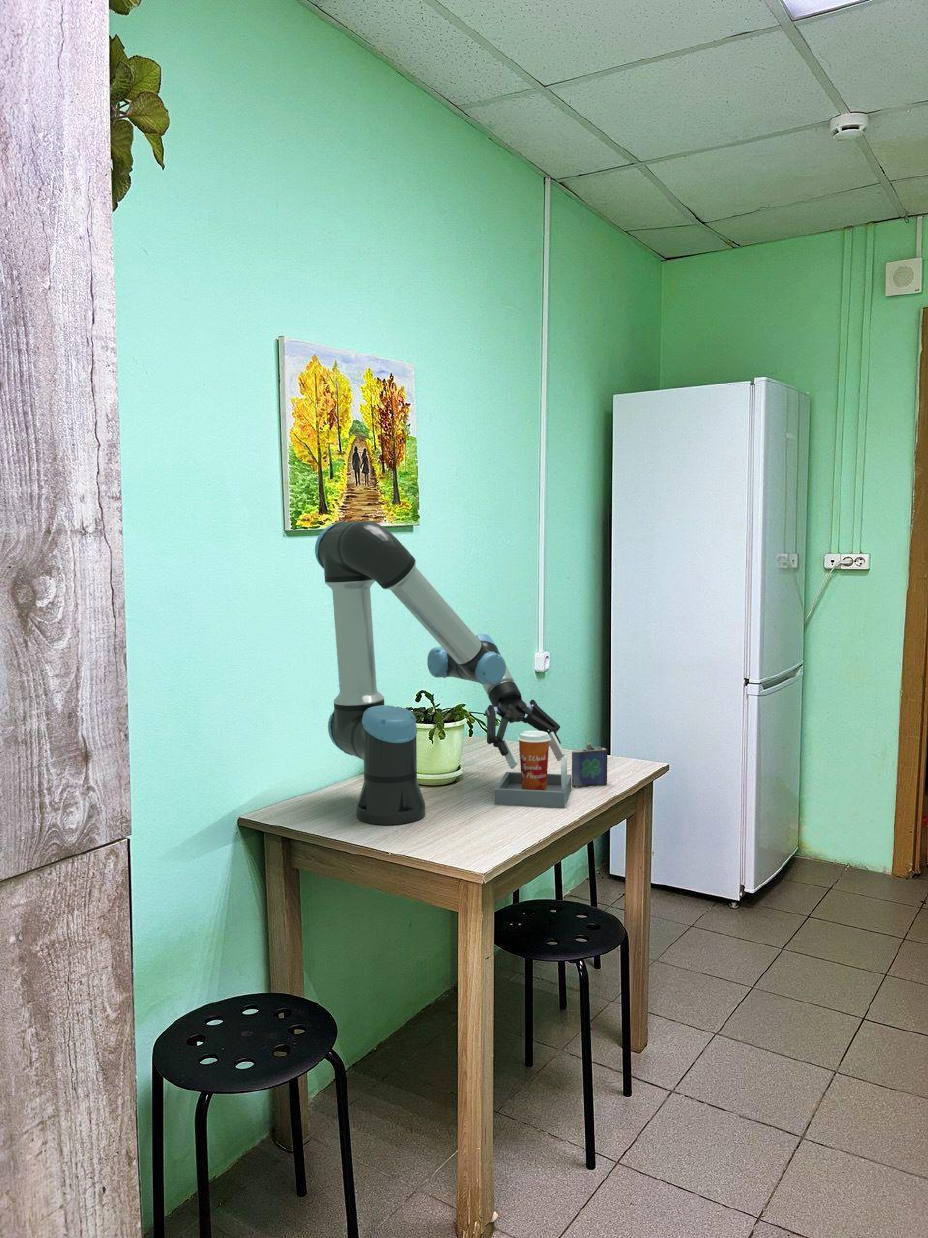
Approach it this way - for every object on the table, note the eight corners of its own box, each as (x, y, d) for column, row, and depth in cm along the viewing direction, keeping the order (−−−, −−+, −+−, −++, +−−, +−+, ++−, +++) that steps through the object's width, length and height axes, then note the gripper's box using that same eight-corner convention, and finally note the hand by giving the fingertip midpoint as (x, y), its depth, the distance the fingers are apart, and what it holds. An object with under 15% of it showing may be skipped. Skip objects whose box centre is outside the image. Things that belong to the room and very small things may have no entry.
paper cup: (514, 795, 213) (514, 735, 212) (521, 786, 220) (521, 729, 219) (547, 797, 210) (547, 737, 209) (553, 789, 218) (554, 731, 217)
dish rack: (494, 804, 209) (494, 761, 208) (506, 785, 225) (505, 745, 224) (564, 808, 206) (564, 764, 205) (571, 788, 221) (571, 748, 220)
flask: (573, 788, 222) (573, 745, 221) (569, 785, 225) (569, 742, 224) (609, 785, 224) (609, 742, 223) (604, 782, 227) (604, 740, 226)
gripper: (535, 693, 234) (572, 763, 222) (452, 703, 220) (487, 778, 209) (548, 675, 229) (587, 745, 217) (464, 684, 215) (500, 760, 204)
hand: (538, 761), depth 213 cm, fingers open, 13 cm apart
